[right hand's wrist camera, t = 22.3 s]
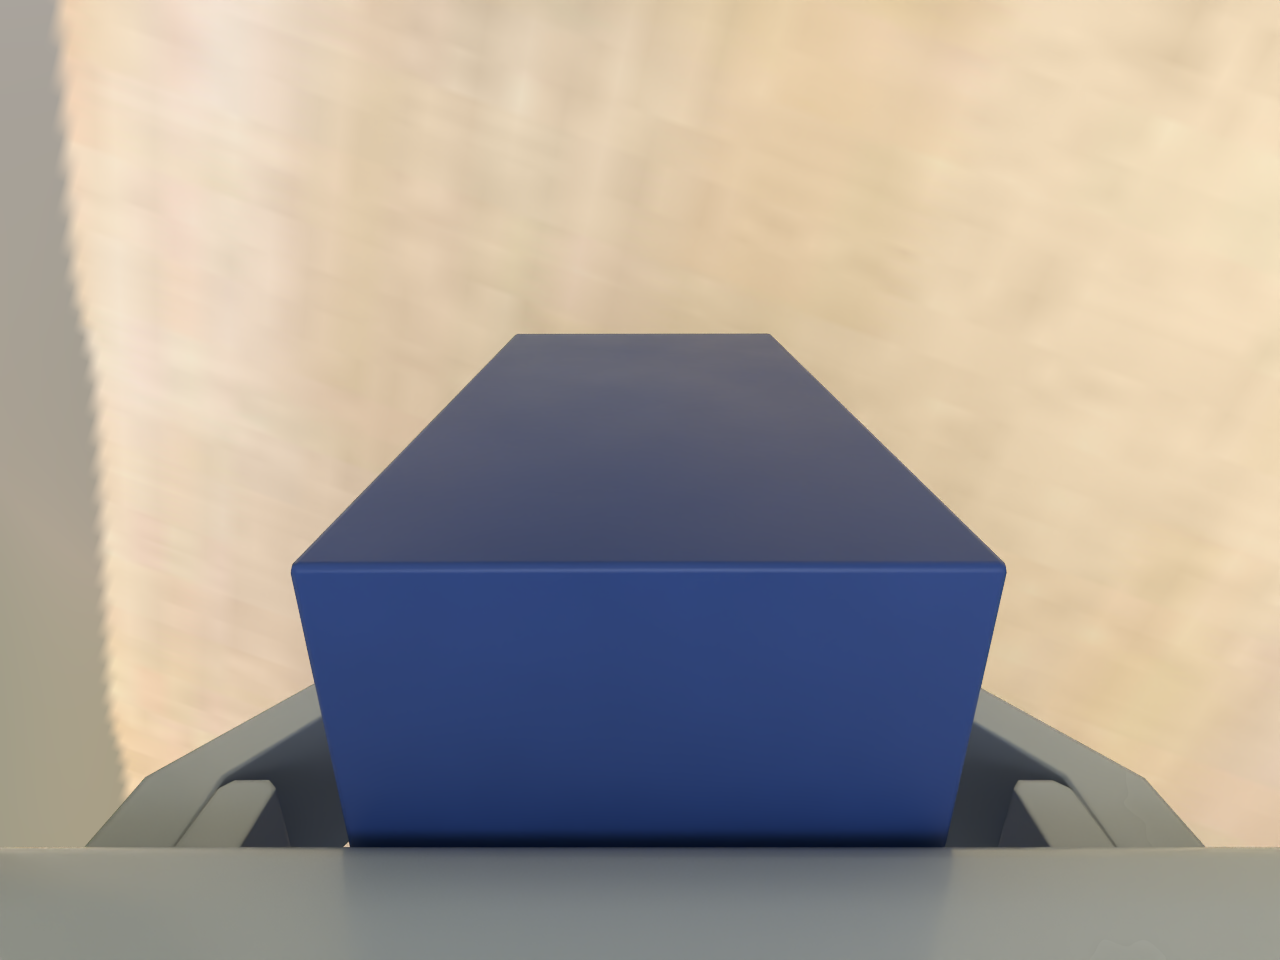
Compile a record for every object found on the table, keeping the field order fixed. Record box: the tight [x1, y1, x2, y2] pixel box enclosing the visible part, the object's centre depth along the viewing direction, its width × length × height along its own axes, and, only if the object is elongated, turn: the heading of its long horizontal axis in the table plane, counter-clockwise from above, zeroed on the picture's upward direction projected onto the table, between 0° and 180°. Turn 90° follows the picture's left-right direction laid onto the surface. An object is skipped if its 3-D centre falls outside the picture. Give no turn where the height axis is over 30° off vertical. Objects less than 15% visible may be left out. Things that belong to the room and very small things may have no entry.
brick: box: [291, 334, 1007, 847], centre depth 10 cm, size 5×8×9 cm, turn 0°
